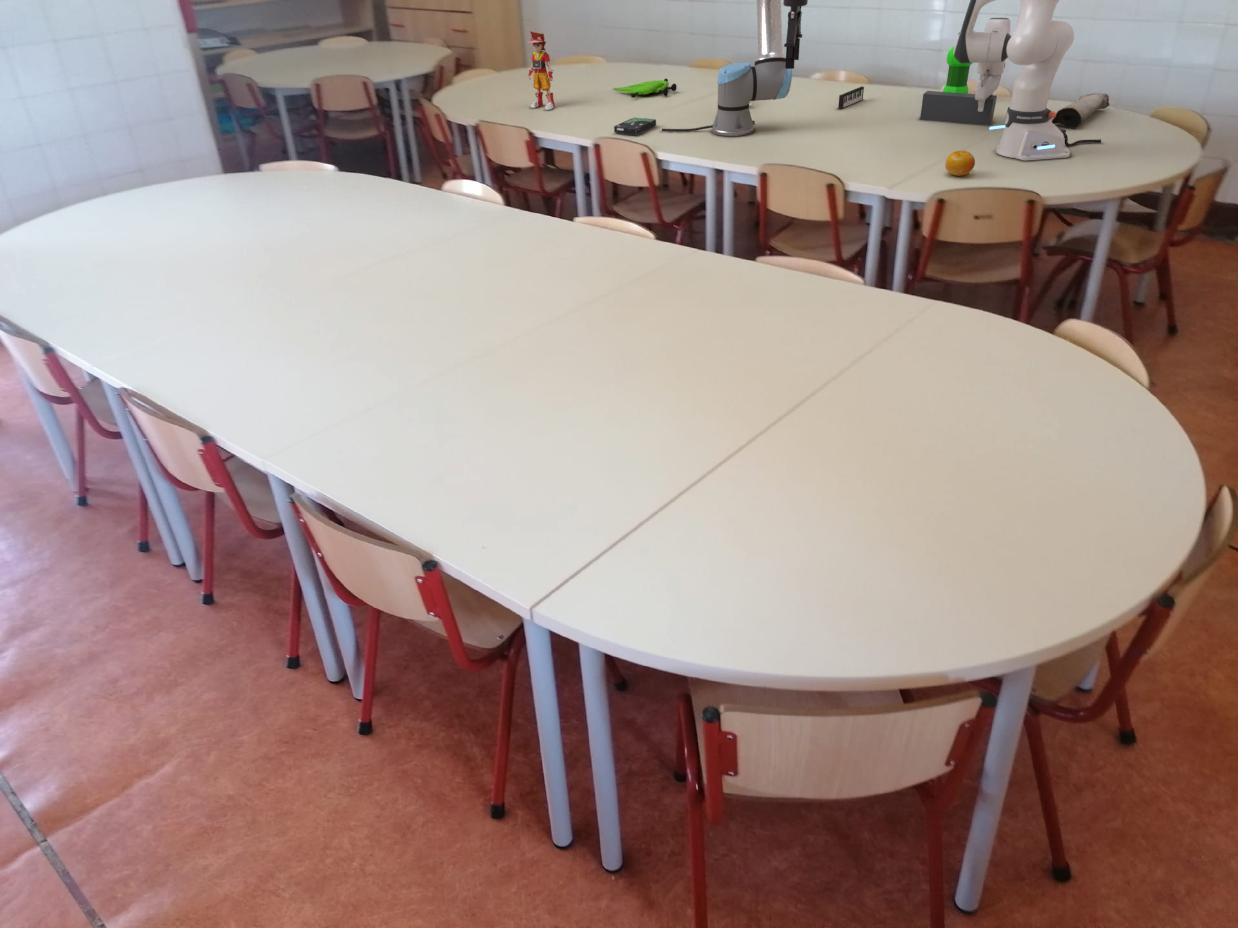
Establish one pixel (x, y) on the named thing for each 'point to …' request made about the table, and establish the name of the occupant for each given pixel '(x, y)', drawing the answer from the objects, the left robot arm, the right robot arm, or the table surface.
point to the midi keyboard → (850, 97)
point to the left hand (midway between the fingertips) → (792, 64)
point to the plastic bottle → (956, 74)
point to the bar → (956, 108)
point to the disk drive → (635, 126)
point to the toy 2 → (648, 88)
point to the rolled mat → (1081, 109)
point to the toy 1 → (541, 71)
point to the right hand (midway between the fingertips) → (983, 108)
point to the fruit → (960, 163)
